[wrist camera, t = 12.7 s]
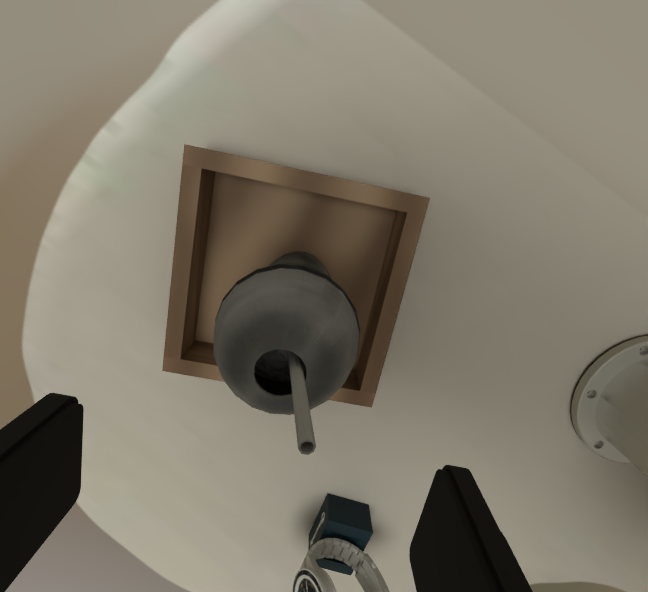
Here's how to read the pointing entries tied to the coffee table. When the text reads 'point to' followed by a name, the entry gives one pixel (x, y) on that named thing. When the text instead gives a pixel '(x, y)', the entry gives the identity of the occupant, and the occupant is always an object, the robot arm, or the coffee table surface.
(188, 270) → the walnut tray
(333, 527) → the watch
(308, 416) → the beverage cup
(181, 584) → the coffee table surface
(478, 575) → the robot arm
